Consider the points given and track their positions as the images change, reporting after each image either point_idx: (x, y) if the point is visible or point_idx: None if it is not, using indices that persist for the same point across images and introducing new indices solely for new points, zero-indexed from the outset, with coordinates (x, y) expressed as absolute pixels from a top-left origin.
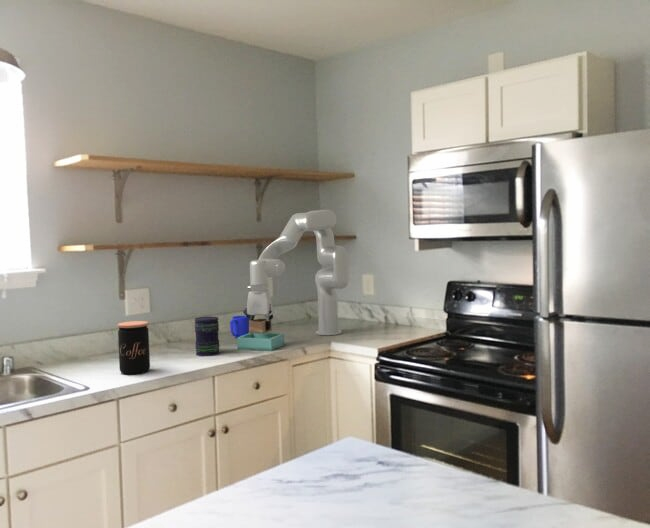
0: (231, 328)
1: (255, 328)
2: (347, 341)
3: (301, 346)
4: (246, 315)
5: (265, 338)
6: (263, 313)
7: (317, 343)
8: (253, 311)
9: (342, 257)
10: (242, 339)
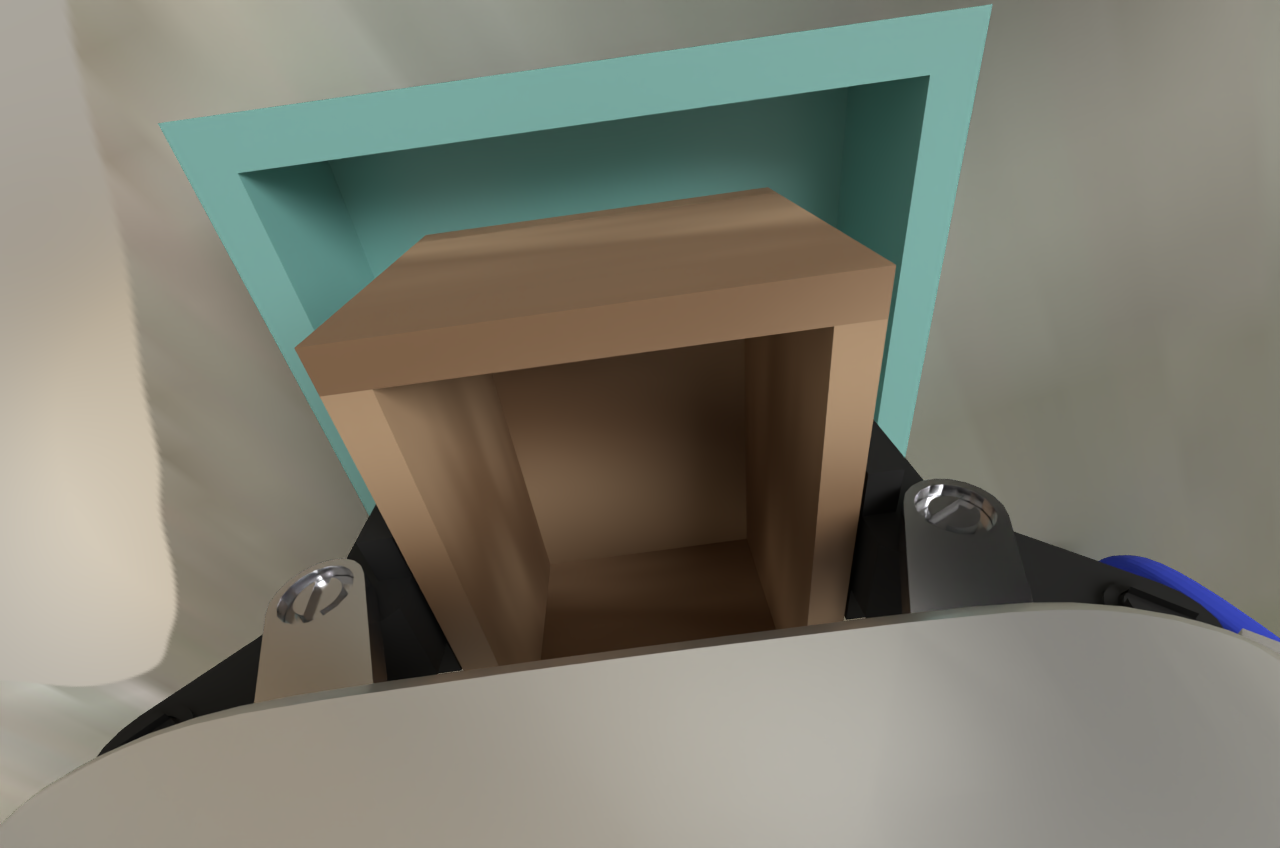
0: (1216, 602)
1: (604, 237)
2: (75, 739)
3: (211, 490)
4: (1199, 617)
5: (335, 156)
6: (207, 775)
7: (211, 630)
8: (937, 817)
9: None
10: (842, 29)
